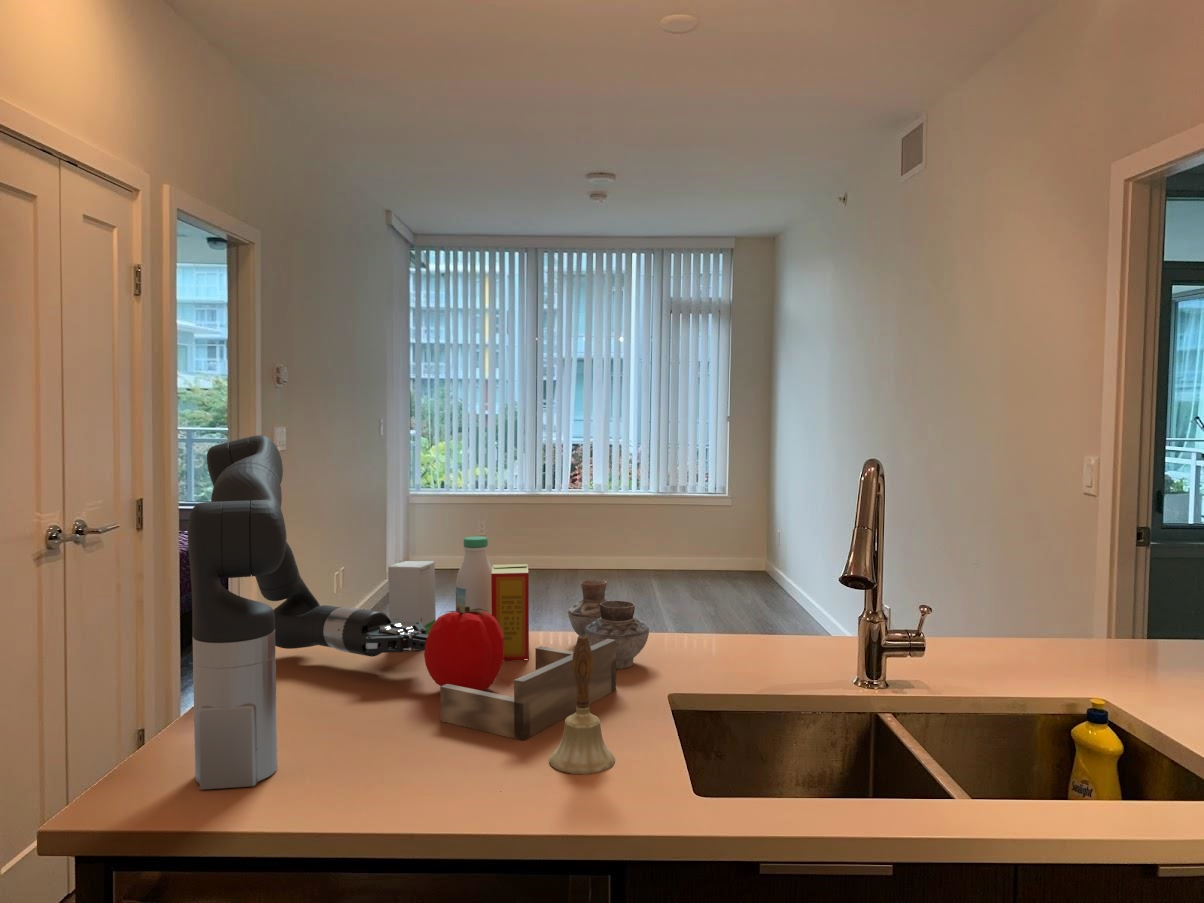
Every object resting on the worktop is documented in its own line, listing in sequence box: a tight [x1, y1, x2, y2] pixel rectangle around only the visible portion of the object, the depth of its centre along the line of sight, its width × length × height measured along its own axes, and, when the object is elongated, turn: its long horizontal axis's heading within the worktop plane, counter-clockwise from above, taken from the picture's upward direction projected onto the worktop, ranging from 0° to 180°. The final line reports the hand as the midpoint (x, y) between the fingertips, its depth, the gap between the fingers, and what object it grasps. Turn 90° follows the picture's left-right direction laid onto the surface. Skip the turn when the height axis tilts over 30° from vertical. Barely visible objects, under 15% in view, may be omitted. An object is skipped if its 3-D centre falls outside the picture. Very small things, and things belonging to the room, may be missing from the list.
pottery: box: [567, 578, 650, 670], centre depth 159 cm, size 11×25×12 cm, turn 17°
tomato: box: [423, 606, 504, 691], centre depth 138 cm, size 13×13×13 cm
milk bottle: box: [455, 536, 492, 615], centre depth 168 cm, size 8×8×20 cm
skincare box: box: [387, 560, 437, 651], centre depth 165 cm, size 8×7×16 cm
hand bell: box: [548, 635, 616, 775], centre depth 110 cm, size 8×8×16 cm
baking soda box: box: [491, 563, 530, 661], centre depth 159 cm, size 10×6×16 cm
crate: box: [439, 639, 617, 741], centre depth 131 cm, size 14×25×8 cm, turn 149°
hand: (434, 644), depth 141 cm, fingers closed
